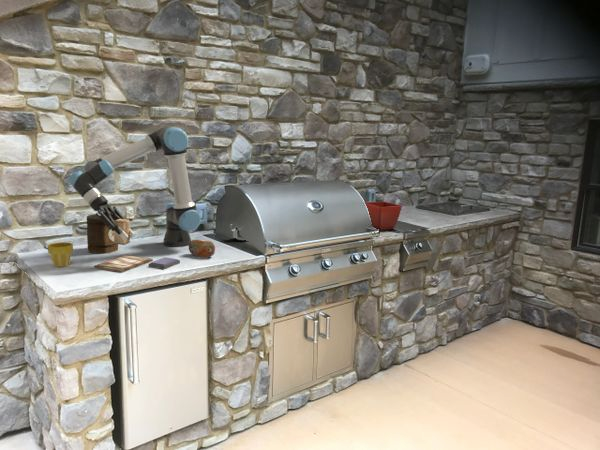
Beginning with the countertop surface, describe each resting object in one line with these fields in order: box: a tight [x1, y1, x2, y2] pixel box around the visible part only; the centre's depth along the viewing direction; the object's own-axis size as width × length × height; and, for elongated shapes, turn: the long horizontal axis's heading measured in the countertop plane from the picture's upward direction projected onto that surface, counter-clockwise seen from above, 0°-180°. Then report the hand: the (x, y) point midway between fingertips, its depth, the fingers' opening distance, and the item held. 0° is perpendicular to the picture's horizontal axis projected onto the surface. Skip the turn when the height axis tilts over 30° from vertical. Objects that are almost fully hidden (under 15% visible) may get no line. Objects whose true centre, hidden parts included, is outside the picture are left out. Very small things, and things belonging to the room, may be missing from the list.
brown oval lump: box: [188, 239, 216, 259], centre depth 251 cm, size 15×3×8 cm, turn 64°
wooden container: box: [86, 213, 119, 255], centre depth 254 cm, size 15×15×22 cm
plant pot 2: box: [364, 201, 403, 231], centre depth 336 cm, size 19×19×17 cm
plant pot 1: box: [47, 241, 74, 268], centre depth 227 cm, size 10×10×10 cm
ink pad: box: [148, 256, 181, 270], centre depth 233 cm, size 12×9×2 cm
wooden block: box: [114, 218, 131, 246], centre depth 229 cm, size 5×5×11 cm
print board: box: [93, 254, 154, 274], centre depth 232 cm, size 22×16×1 cm
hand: (129, 237), depth 229 cm, fingers closed on wooden block, 5 cm apart
